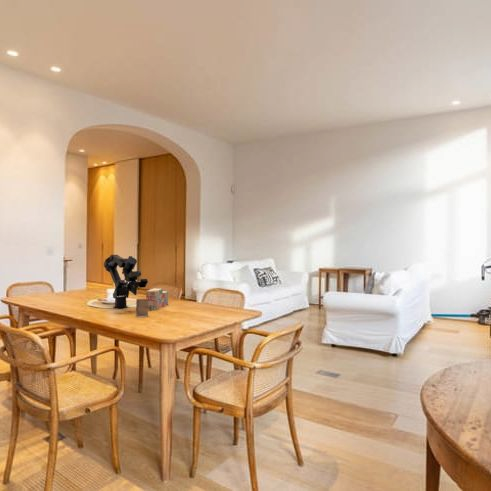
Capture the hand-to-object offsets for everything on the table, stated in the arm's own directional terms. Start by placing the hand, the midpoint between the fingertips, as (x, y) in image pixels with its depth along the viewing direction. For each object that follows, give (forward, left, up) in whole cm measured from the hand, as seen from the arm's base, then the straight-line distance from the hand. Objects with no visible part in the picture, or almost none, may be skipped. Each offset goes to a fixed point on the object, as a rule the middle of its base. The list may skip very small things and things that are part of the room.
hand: (135, 294), depth 234 cm
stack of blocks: (-1, +24, -12) cm, 27 cm away
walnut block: (+8, -4, -11) cm, 15 cm away
